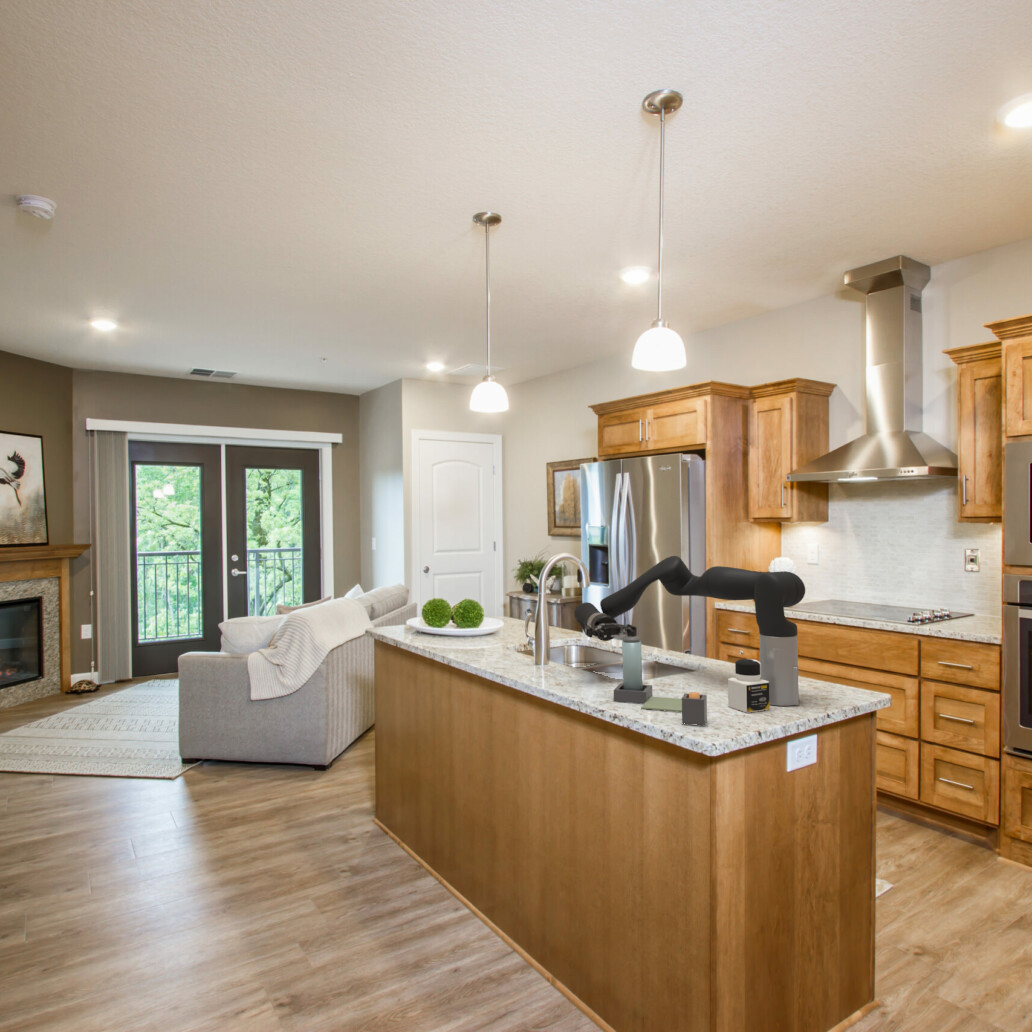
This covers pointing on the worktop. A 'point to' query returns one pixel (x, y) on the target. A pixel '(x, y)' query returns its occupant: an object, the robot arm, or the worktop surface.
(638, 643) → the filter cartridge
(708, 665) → the worktop surface
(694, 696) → the plunger
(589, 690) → the worktop surface
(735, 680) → the medicine bottle
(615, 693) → the cartridge socket
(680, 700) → the rubber mat
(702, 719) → the gray square socket block
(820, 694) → the worktop surface
